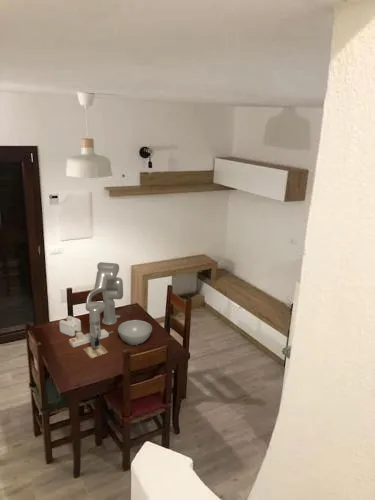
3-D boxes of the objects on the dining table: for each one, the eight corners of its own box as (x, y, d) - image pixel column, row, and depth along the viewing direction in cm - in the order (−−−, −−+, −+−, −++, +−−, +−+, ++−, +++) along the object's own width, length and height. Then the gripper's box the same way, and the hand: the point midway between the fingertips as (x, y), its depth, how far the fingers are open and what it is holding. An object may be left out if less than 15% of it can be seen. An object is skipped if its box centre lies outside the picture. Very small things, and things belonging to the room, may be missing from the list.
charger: (96, 342, 311) (96, 334, 309) (99, 345, 307) (99, 337, 305) (90, 344, 308) (90, 336, 306) (93, 347, 305) (93, 338, 302)
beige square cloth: (100, 344, 319) (100, 343, 319) (108, 352, 309) (108, 351, 308) (83, 349, 311) (83, 348, 311) (91, 358, 300) (90, 357, 300)
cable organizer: (82, 332, 335) (81, 319, 331) (73, 338, 326) (72, 325, 322) (68, 327, 341) (67, 315, 338) (59, 332, 332) (58, 320, 329)
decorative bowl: (127, 330, 341) (127, 317, 338) (156, 336, 334) (157, 323, 330) (111, 346, 317) (111, 332, 313) (143, 353, 310) (143, 339, 306)
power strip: (110, 330, 340) (110, 321, 338) (115, 334, 334) (115, 325, 332) (69, 342, 319) (68, 333, 317) (73, 347, 313) (72, 338, 311)
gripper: (104, 325, 298) (105, 347, 303) (94, 316, 310) (95, 337, 316) (95, 328, 293) (95, 350, 299) (85, 318, 306) (85, 340, 312)
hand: (95, 343), depth 307 cm, fingers closed on charger, 5 cm apart
